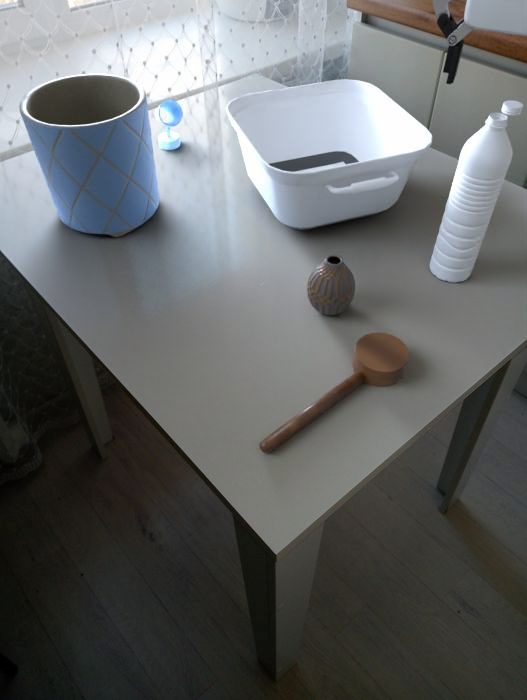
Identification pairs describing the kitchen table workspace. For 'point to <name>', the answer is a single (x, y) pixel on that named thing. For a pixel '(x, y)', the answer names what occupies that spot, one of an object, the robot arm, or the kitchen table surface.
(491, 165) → the water bottle
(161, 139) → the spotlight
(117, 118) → the planter
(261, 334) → the kitchen table surface
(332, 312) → the vase
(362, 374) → the ladle
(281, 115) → the white plastic wash basin
